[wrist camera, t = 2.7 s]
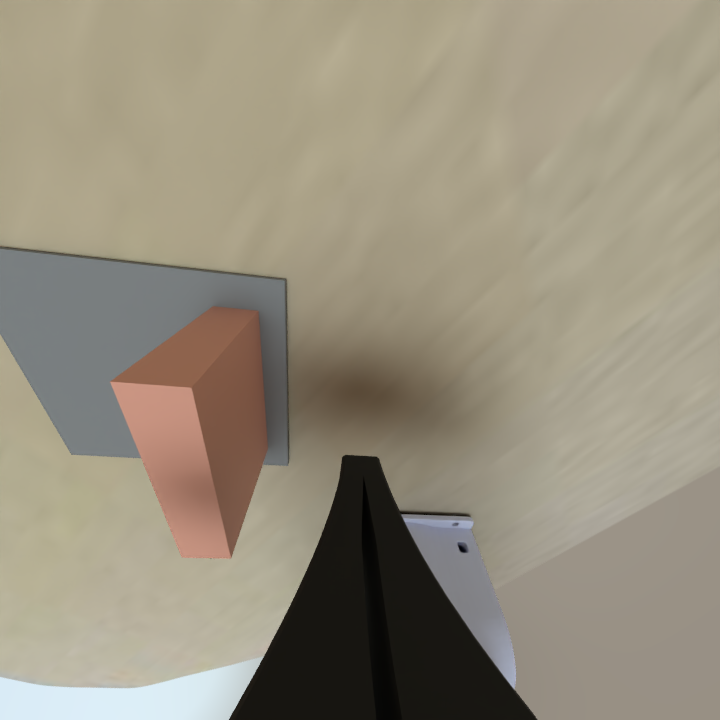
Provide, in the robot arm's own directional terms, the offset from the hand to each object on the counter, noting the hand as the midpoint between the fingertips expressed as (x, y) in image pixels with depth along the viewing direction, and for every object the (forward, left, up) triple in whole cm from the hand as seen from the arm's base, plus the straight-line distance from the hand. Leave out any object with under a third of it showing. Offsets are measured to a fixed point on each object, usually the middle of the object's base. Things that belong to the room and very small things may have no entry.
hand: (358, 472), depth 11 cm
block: (+6, 0, -5) cm, 8 cm away
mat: (+10, 0, -5) cm, 12 cm away
